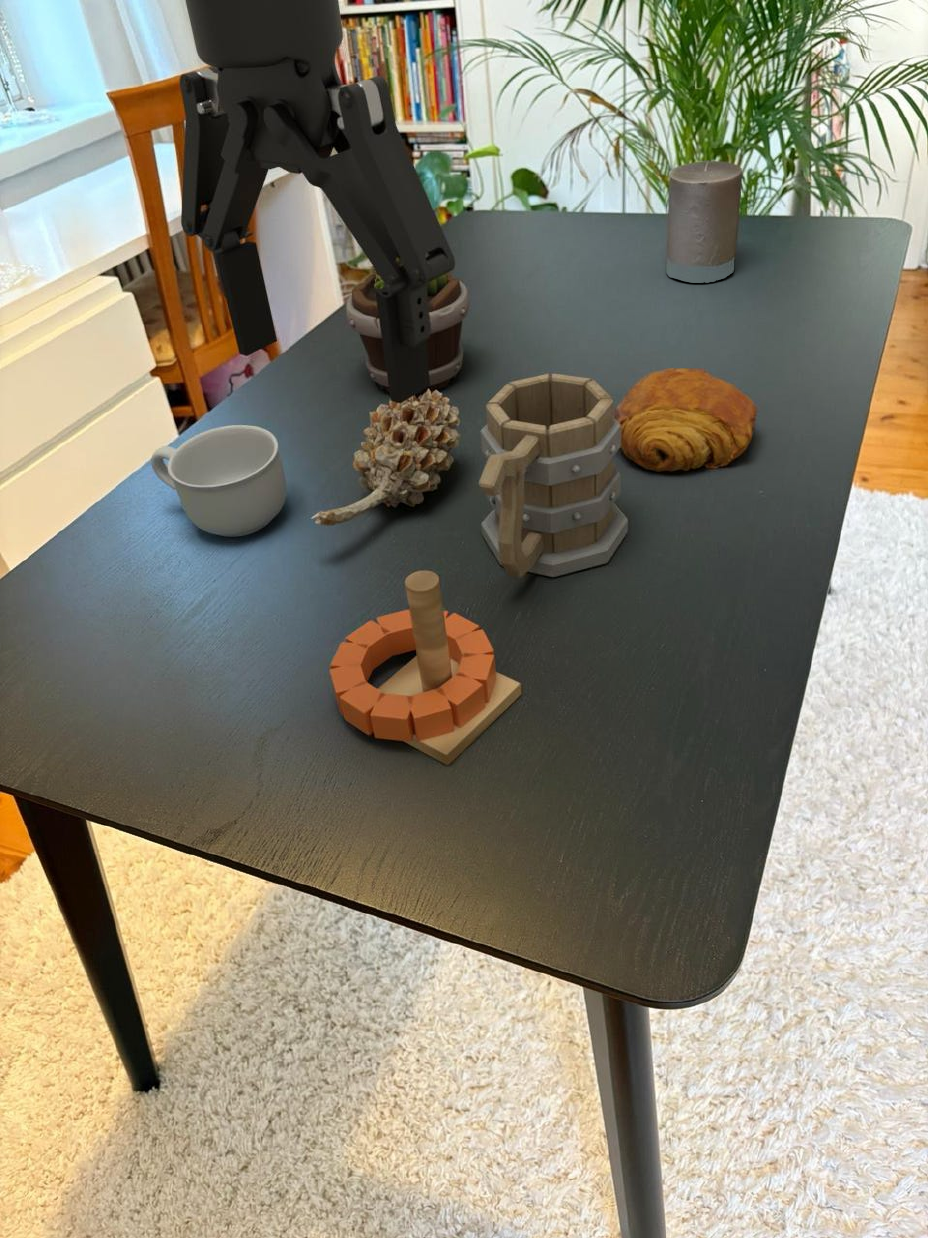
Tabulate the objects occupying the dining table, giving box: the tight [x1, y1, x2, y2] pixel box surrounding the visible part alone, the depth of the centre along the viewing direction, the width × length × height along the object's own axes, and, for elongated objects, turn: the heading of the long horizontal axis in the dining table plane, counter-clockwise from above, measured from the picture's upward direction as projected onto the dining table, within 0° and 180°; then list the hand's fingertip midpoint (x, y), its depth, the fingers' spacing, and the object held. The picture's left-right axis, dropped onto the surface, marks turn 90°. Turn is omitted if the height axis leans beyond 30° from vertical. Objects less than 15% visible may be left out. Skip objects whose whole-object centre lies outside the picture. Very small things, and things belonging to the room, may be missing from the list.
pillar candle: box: [666, 160, 743, 267], centre depth 135 cm, size 10×10×15 cm
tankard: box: [478, 373, 629, 579], centre depth 85 cm, size 20×13×15 cm, turn 152°
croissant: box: [613, 367, 759, 473], centre depth 101 cm, size 14×16×8 cm
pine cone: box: [310, 388, 462, 526], centre depth 95 cm, size 22×10×10 cm, turn 155°
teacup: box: [150, 424, 288, 538], centre depth 97 cm, size 14×11×8 cm
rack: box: [377, 570, 522, 766], centre depth 72 cm, size 9×9×12 cm
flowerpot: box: [345, 252, 470, 396], centre depth 115 cm, size 14×15×20 cm
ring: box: [329, 608, 497, 742], centre depth 75 cm, size 12×12×2 cm
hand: (330, 369), depth 61 cm, fingers open, 13 cm apart
